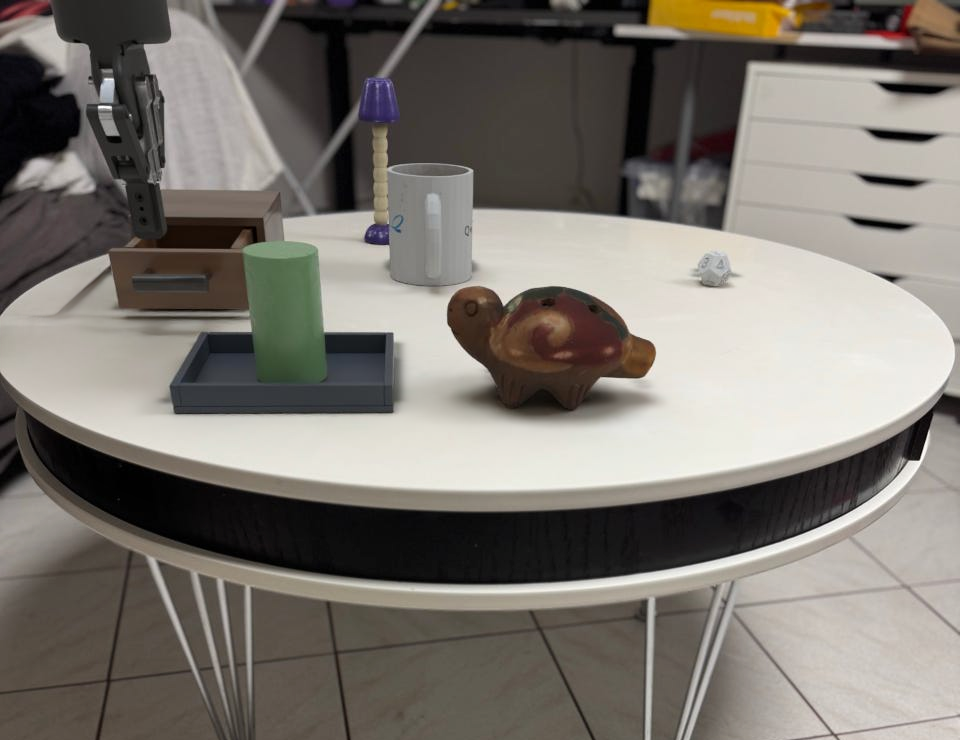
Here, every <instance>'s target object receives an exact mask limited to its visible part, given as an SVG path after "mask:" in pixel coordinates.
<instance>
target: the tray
mask: <svg viewBox="0 0 960 740" xmlns="http://www.w3.org/2000/svg"><path fill="white" fill-rule="evenodd" d="M394 335H395V334H394V332H393V331H388V332H387V331H324V336H325V349H326V362H327V377H326V379H324V380H323V381H322V382H278V383H262V382H260V381H259V380H258V378H257V371H256V363H255V354H254V346H253V338H252V331H201V332H200V333H199V335H198V337H197V338H196V340H195V342H194V343H193V345H192V346H191V348H190V350H189V352H188V353H187V356H186V357H185V358H184V360H183V361H182V364H181V365H180V367H179V369H178V370H177V372H176V374H175V376H174V377H173V379H172V381H171V382H170V384H169V391H170V397H171V402H172V407H173V413H174V414H291V413H292V414H300V413H302V414H303V413H304V414H305V413H306V414H309V413H311V414H313V413H314V414H315V413H316V414H317V413H319V414H321V413H324V414H325V413H328V414H330V413H332V414H333V413H335V414H337V413H338V414H339V413H340V414H341V413H394V406H395V405H394V400H395V398H394V397H395V396H394V394H395V338H394V337H395V336H394Z"/></svg>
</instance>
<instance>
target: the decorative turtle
mask: <svg viewBox="0 0 960 740" xmlns="http://www.w3.org/2000/svg"><path fill="white" fill-rule="evenodd" d="M446 324H447V326H448V327H449V328H450V331H451V333H452V335H453V337H454V339H455V340H456V342H457V343H458V344H459V346H460V347H461V348H462V349H463V350H464V351H465V352H466V353H467V354H468V355H469V356H470V357H471V358H472V359H474V360H475V361H476V362H478V363H479V364H481V365H482V366H483V367H484V368H485V369H487V371H488V372H489V374H490V376H491V378H492V380H493V382H494V384H495V387H496V389H497V392H498V395H499V397H500V399H501V401H502V402H503V403H504V405H505V406H507V407H508V408H511V409H512V408H513V409H516V408H518V407H520V406H521V405H522V404H524V403H525V402H526V401H527V400H528V399H529V398H531V397H532V396H533V395H534V394H535V393H536V392H537V391H540V390H545V391H548V392H549V393H550V394H551V395H552V396H553V397H554V398H555V400H557V402H558V403H560V404H561V405H562V406H563V407H564V408H566V409H567V410H569V411H572V410H575V409H577V408H578V407H580V406H581V405H582V404H583V403H584V401H585V399H586V398H587V396H588V394H589V393H590V391H591V390H592V388H593V386H594V385H595V384H596V383H597V381H598V380H599V379H601V378H608V379H609V378H610V379H635V380H638V379H642V378H645V377H646V375H647V374H648V373H649V371H650V370H651V368H652V367H653V365H654V363H655V360H656V357H657V349H656V346H655V344H654V343H653V342H652V341H651V340H649V339H645V338H643V337H640V336H637V335H635V334H633V333H631V332H630V330H629V328H628V326H627V324H626V322H625V320H624V318H623V317H622V316H621V315H620V314H619V313H618V312H617V311H616V310H615V309H614V308H613V307H612V306H611V305H609V304H608V303H606V302H605V301H603V300H601V299H599V298H598V297H596V296H594V295H592V294H590V293H587V292H584V291H582V290H580V289H576V288H571V287H567V286H559V285H558V286H557V285H550V286H541V287H532V288H528V289H526V290H524V291H522V292H520V293H518V294H516V295H515V296H514V297H512V298H510V300H508V302H507V303H506V304H503V302H502V300H501V297H500V296H499V294H498V293H496V291H494V290H493V289H491V288H489V287H486V286H481V285H473V286H471V285H470V286H466V287H463V288H460V289H458V290H457V291H455V292H454V294H453V295H452V296H451V297H450V300H449V301H448V303H447V308H446Z"/></svg>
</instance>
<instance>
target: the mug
mask: <svg viewBox="0 0 960 740" xmlns="http://www.w3.org/2000/svg"><path fill="white" fill-rule="evenodd" d="M387 186H388V194H387V198H388V208H387V213H388V224H389V244H388V246H389V248H388V249H389V275H390V277H391V279H393V280H395V281H397V282H400V283H402V284H403V283H404V284H408V285H415V286H426V287H436V286H437V287H440V286H441V287H442V286H451V285H457V284H462V283H464V282H467V281H470V280H471V279H472V277H473V275H472V272H473V270H472V269H473V267H472V266H473V223H474V221H473V218H474V217H473V216H474V215H473V213H474V170H473V169H472V168H471V167H468V166H463V165H456V164H449V163H433V162H432V163H429V162H428V163H426V162H425V163H423V162H422V163H421V162H420V163H419V162H418V163H404V164H396V165H392V166H389V167H387Z"/></svg>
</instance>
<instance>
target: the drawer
mask: <svg viewBox="0 0 960 740" xmlns="http://www.w3.org/2000/svg"><path fill="white" fill-rule="evenodd" d="M166 226H167V232H166V234H165V235H164V236H163V237H162V238H160V239H139V238H137V237H135V238H134V239H132V238H131V240H130V241H129V242H128V243H127V244H126V245H125V246H123V247H112V248H110V249H109V250H108V251H107V255H108V258H109V263H110V269H111V273H112V278H113V283H114V288H115V293H116V298H117V303H118V308H119V309H142V310H143V309H154V310H155V309H156V310H157V309H158V310H159V309H161V310H164V309H166V310H167V309H169V310H170V309H171V310H172V309H175V310H176V309H178V310H179V309H180V310H181V309H182V310H186V309H187V310H190V309H191V310H217V309H218V310H249V305H248V296H247V288H246V280H245V272H244V263H243V255H242V250H243V248H245V247H246V246H249V245H252V244H256V243H257V234H256V226H173V225H166Z"/></svg>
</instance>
